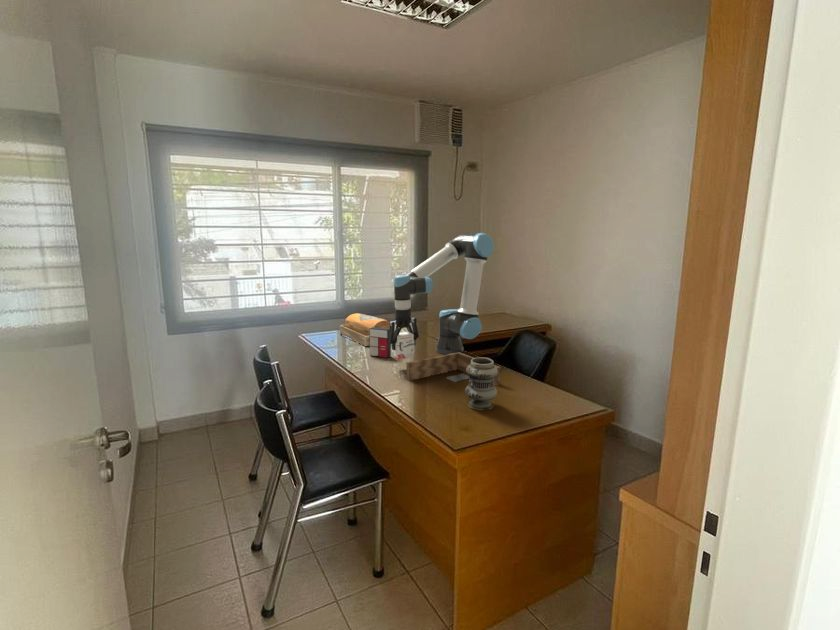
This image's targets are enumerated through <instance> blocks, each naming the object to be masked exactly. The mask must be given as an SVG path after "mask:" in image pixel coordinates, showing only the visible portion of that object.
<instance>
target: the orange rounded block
mask: <svg viewBox="0 0 840 630" xmlns="http://www.w3.org/2000/svg"><path fill="white" fill-rule="evenodd" d="M344 322H345V323H344V325H345V327H346V328H349V329H351V330H353V331H355V332H358V333H360V334H362V335H365V336H370V331H369V329H370V328H372V327H378V328H388V329H390V321H388V320H386V319H384V318H380V317H376V316H372V315H368V314H363V313H360V312H359V313H352V314H350V315H349V316H347V317H346V318H345V321H344Z"/></svg>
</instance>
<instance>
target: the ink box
mask: <svg viewBox="0 0 840 630" xmlns="http://www.w3.org/2000/svg"><path fill="white" fill-rule="evenodd" d="M413 333H414V332H413ZM413 333H410V332H408V331H402V332H401V331H400V333H399V336H397V341H396V343H397V348H398V357H395V356H393V357H394V358H395V359H396V360H398V361H399V360H403V359H409V358H414V357H415V356H414V355H415V353H414V349H415V346H414V334H413Z"/></svg>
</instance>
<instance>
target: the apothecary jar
mask: <svg viewBox="0 0 840 630" xmlns="http://www.w3.org/2000/svg"><path fill="white" fill-rule="evenodd" d="M494 365H495V363H494V360H493V359H491V358H489V357H483V356H482V357H481V356H480V357H474V358H473V359H472V360H471V363H470V365H468V366H467V368H466V372H467V373H466V374H467V375H469V379H468V384H467V386H465V390H464V391H465V395H466V396H467V397H468V398H470V399H471V400H469V401H468V402H467V406H468V407H469V409H472V410H476V411H486V410H491V409H493V408H494V403H493V402H491V401H492V400H493V399H494V398H495V397H497V395H498V390H497V388H496V386H495V385H494V377H495V376H496V375H497V373H498V370H497V368H496V367H495V366H494Z"/></svg>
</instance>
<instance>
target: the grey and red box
mask: <svg viewBox="0 0 840 630" xmlns="http://www.w3.org/2000/svg"><path fill="white" fill-rule="evenodd" d="M389 330H390V329H388V328H378V327H372V328H370V329H369V331H370V346H369V356H370V355H371V356H370V357H376V356H379V357H378V358H384V357H385V358H384V359H389V358H390V357H392V350H391V349H392V343H390V342H388V336H389Z"/></svg>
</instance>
